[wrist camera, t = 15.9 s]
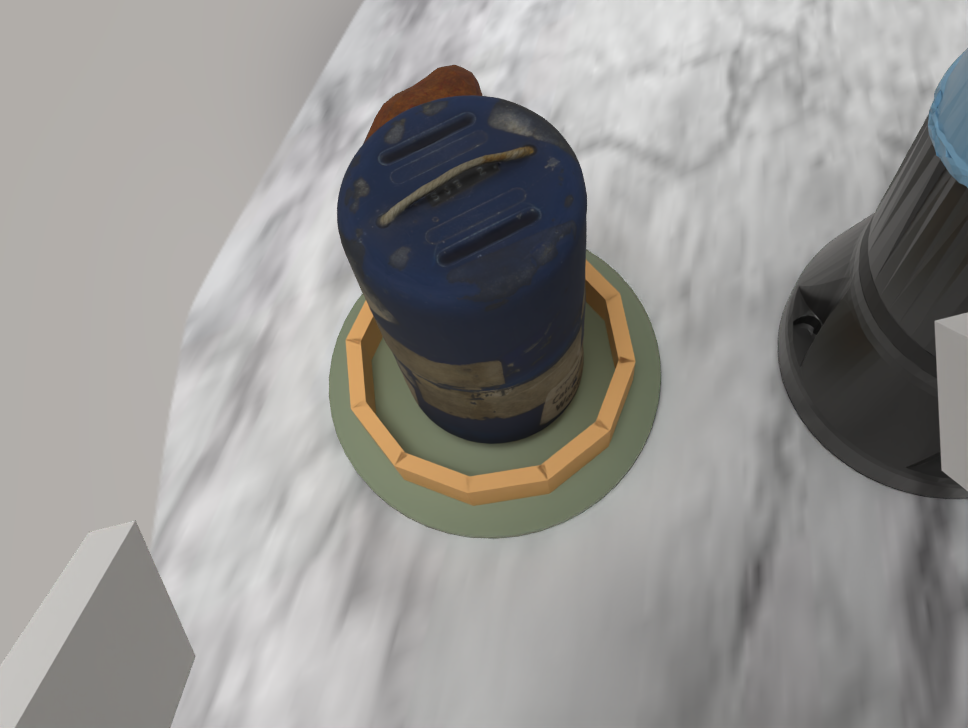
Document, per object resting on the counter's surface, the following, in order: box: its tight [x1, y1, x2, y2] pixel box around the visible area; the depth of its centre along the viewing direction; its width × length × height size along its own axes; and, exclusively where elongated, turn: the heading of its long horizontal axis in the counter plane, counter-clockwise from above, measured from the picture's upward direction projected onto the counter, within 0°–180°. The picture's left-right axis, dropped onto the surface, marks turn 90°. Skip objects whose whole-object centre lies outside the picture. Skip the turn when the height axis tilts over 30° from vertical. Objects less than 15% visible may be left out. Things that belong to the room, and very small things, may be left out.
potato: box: [364, 65, 482, 143], centre depth 50 cm, size 6×12×6 cm, turn 150°
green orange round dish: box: [329, 250, 661, 538], centre depth 46 cm, size 18×18×3 cm
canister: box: [337, 95, 587, 444], centre depth 38 cm, size 10×10×18 cm
